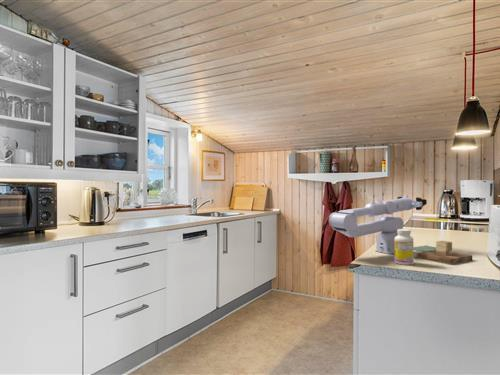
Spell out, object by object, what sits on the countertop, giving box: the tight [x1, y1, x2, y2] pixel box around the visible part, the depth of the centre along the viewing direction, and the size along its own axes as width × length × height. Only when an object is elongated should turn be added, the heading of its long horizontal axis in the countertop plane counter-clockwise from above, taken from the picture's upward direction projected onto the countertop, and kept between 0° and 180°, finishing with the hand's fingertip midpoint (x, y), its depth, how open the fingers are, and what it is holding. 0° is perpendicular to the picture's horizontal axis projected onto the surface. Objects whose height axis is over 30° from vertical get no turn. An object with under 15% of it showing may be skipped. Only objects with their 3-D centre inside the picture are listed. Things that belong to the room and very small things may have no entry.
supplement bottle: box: [394, 228, 415, 266], centre depth 133 cm, size 7×7×13 cm
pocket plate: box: [416, 250, 473, 265], centre depth 140 cm, size 14×14×2 cm
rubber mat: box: [413, 245, 436, 252], centre depth 159 cm, size 12×12×1 cm
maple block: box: [435, 240, 453, 256], centre depth 140 cm, size 4×4×7 cm
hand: (418, 201), depth 165 cm, fingers open, 7 cm apart
